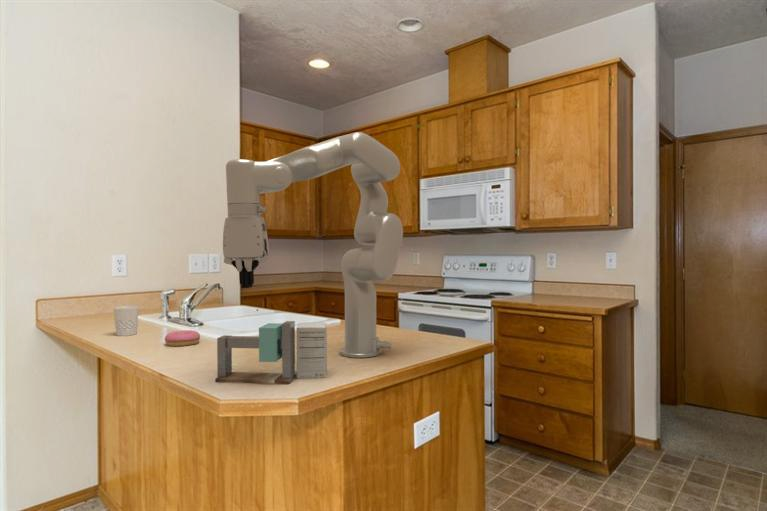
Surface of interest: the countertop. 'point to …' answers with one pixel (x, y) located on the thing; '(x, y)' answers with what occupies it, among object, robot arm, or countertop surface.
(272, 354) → the teal sliding block
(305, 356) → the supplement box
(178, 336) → the doughnut
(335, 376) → the countertop surface
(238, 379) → the board
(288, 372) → the rail
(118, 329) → the white cup
